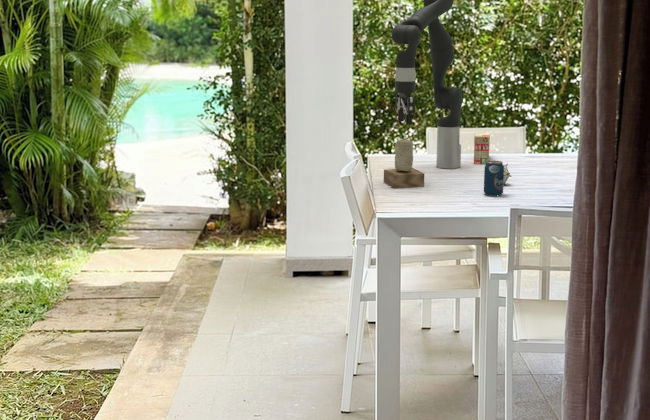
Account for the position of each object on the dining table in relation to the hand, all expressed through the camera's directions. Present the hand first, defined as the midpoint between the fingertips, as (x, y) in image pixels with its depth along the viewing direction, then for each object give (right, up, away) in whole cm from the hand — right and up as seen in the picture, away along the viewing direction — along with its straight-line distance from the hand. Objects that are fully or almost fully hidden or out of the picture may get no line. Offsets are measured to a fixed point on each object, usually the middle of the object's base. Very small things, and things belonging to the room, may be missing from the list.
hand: (404, 122), depth 362 cm
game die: (+36, -23, +5) cm, 44 cm away
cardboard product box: (+38, -11, +56) cm, 69 cm away
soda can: (+31, -27, -12) cm, 43 cm away
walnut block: (0, -23, +5) cm, 24 cm away
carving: (0, -18, +5) cm, 19 cm away
